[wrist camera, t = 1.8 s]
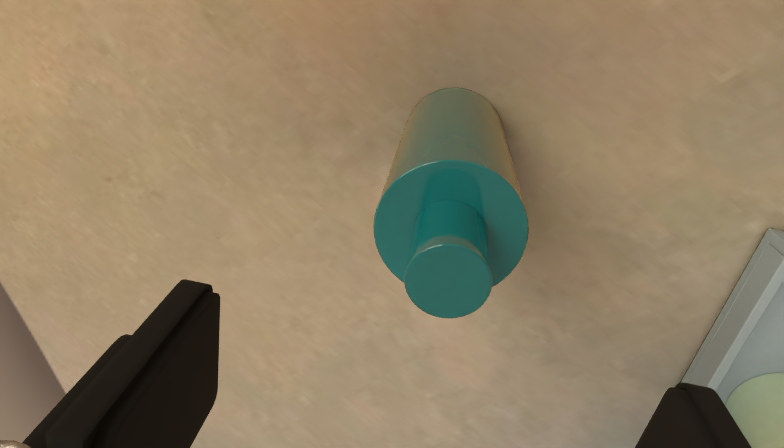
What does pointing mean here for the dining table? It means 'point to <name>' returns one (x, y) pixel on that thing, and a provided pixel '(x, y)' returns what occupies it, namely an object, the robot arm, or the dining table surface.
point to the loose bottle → (451, 205)
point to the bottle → (760, 410)
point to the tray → (746, 325)
